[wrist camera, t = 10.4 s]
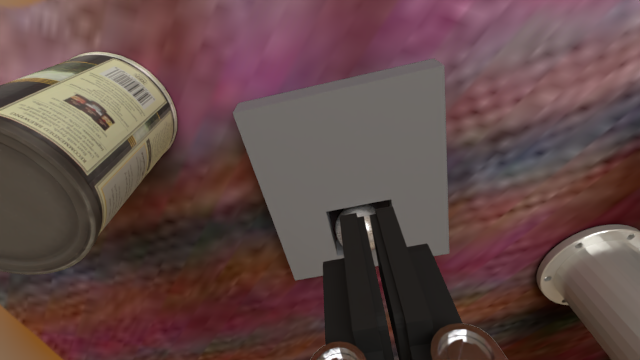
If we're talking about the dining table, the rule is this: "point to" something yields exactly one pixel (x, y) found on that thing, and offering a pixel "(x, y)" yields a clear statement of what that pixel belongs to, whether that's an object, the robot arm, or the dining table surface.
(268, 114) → the hole board
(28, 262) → the coffee can
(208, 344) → the dining table surface
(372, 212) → the steel ball
